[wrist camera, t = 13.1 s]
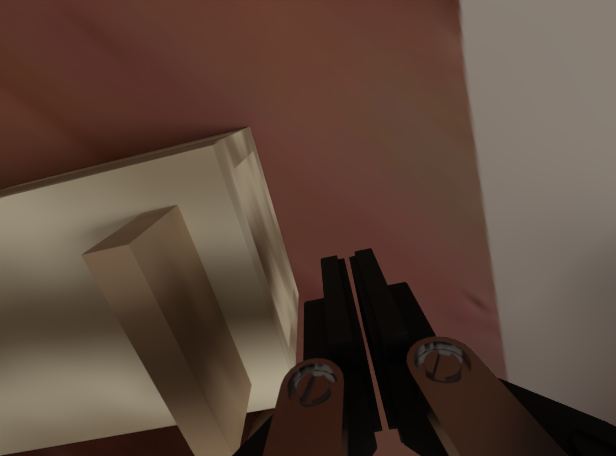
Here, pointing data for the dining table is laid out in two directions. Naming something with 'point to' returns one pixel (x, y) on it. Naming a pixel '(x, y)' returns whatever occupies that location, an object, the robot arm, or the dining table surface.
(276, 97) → the dining table surface
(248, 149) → the toolbox
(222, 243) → the lid
